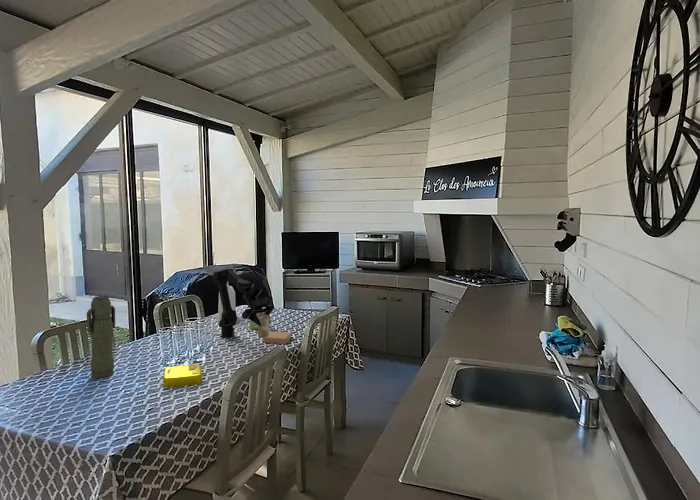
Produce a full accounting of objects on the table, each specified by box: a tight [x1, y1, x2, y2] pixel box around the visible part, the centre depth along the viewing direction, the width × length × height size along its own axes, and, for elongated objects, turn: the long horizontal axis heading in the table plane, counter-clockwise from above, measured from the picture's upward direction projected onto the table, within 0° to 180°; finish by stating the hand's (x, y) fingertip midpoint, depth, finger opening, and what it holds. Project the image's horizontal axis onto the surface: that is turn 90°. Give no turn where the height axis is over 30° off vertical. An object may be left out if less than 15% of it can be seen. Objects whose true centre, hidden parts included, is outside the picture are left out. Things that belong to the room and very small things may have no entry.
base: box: [262, 331, 292, 345], centre depth 255 cm, size 13×13×3 cm
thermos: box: [86, 295, 116, 380], centre depth 193 cm, size 9×12×35 cm
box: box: [249, 313, 264, 330], centre depth 280 cm, size 10×6×12 cm, turn 84°
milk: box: [217, 281, 237, 322], centre depth 304 cm, size 12×12×26 cm
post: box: [257, 315, 270, 339], centre depth 237 cm, size 6×6×11 cm
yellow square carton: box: [163, 363, 202, 388], centre depth 191 cm, size 15×15×5 cm
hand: (265, 324), depth 236 cm, fingers closed on post, 6 cm apart
